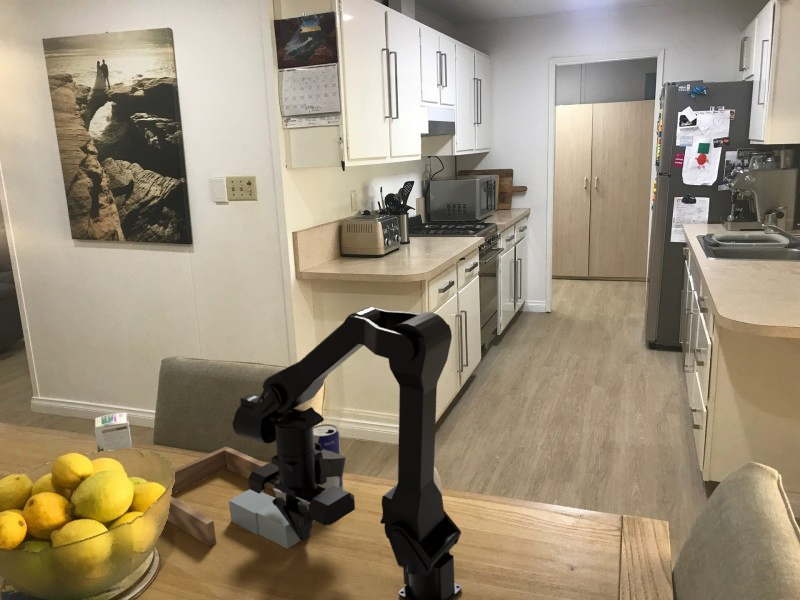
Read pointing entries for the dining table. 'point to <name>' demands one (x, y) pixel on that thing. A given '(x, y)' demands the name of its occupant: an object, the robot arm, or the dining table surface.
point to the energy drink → (329, 449)
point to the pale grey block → (248, 509)
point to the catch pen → (198, 471)
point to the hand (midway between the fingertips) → (304, 539)
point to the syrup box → (112, 432)
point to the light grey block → (276, 527)
